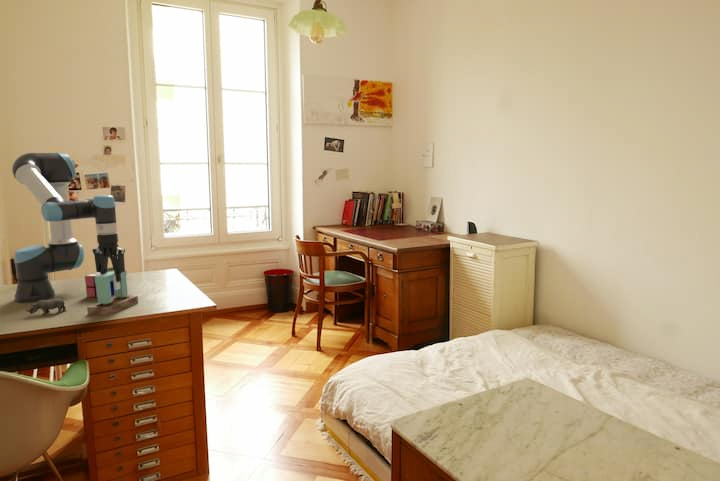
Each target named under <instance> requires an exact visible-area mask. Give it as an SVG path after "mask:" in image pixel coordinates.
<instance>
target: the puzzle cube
mask: <svg viewBox="0 0 720 481" xmlns="http://www.w3.org/2000/svg"><path fill="white" fill-rule="evenodd" d="M107 273H109V272H107ZM100 275H101V273H99V272H97V271H96V272H94V273H91V274H87V275H85V276H84V282H85V291H86V292H85V293H86V297H87V298H94V299H96V298H97V288H96V283H95V278H94V277H97V276H100ZM110 288H111V297H113V296H115V295H114V284H113V281H110Z"/></svg>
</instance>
